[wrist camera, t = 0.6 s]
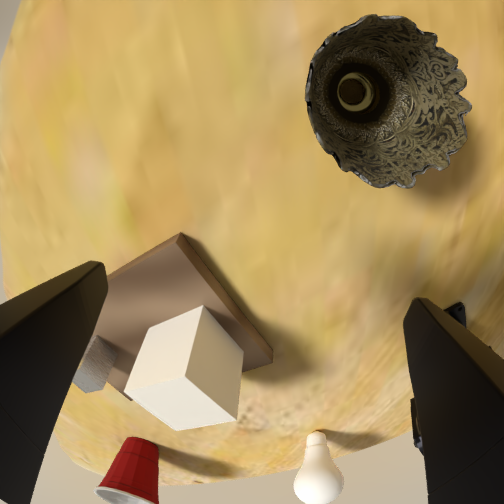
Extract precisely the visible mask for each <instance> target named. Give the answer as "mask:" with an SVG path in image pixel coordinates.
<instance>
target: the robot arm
mask: <svg viewBox="0 0 504 504" xmlns="http://www.w3.org/2000/svg"><path fill="white" fill-rule="evenodd" d="M107 294H108V281H107V276H106V270H105V266H104V264H103V263H102V262H98V261H88V262H86V263H84V264H82V265H80V266H78V267H75V268H73V269H71V270H69V271H67V272H65V273H63V274H61V275H59V276H57V277H54V278H52V279H50V280H48V281H46V282H44V283H42V284H40V285H38V286H36V287H34V288H32V289H30V290H28V291H26V292H24V293H22V294H20V295H18V296H16V297H14V298H12V299H10V300H8V301H7V302H5V303H3V304H1V305H0V499H1V500H3V501H4V502H6V503H8V504H30V502H31V498H32V495H33V491H34V488H35V484H36V481H37V478H38V474H39V471H40V468H41V465H42V461H43V458H44V454H45V452H46V449H47V446H48V443H49V440H50V437H51V434H52V432H53V429H54V426H55V423H56V421H57V418H58V415H59V413H60V410H61V408H62V405H63V403H64V400H65V398H66V395H67V393H68V390H69V388H70V385H71V383H72V380H73V378H74V376H75V373H76V371H77V369H78V366H79V364H80V362H81V360H82V357H83V355H84V353H85V351H86V349H87V346H88V344H89V342H90V340H91V337H92V335H93V333H94V330H95V327H96V324H97V321H98V318H99V316H100V313H101V310H102V307H103V305H104V302H105V299H106V296H107ZM403 329H404V336H405V343H406V351H407V360H408V367H409V373H410V378H411V383H412V388H413V393H414V398H412V399H410V401H411V417H412V428H413V439H414V445H415V447H417V448H419V450H420V452H421V453H422V455H423V456H424V461H425V470H426V480H427V490H428V494H429V495H428V504H504V359H502V358H501V357H500V356H499V355H498V354H496V353H495V352H494V351H493V350H492V348H491V347H490V346H489V347H488V346H487V345H486V344H484V343H483V342H482V341H481V340H480V339H478V338H477V337H476V336H475V335H473V334H472V333H471V332H470V331H468V330H467V327H466V316H465V307H464V305H463V303H461V302H460V303H457V304H455V305H453V306H451V307H449V308H448V309H446V310H444V311H443V310H442V309H441V308H439V307H438V306H437V305H435V304H434V303H433V302H431V301H430V300H429V299H427V298H419V297H416V298H414V299H413V300H412V302H411V305H410V307H409V309H408V311H407V313H406V316H405V318H404V321H403Z"/></svg>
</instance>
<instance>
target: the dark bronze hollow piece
mask: <svg viewBox="0 0 504 504" xmlns="http://www.w3.org/2000/svg"><path fill="white" fill-rule="evenodd" d="M437 38H438V37H437V35H436V34H434V33H431V32H423V31H421V30H419V29H418V28H417V27H416V24H415V23H414V22H412V21H411V20H409V19H408V18H406V17H403V16H377V15H376V14H371V15H366V16H364V17H361V18H360V19H359V20H358V21H357V22H355V23H353V24H351V25H348V26H344V27H343V28H341V29H340V30H339V31H337V32H336V33H331V34H330V35H329V36H328V37H327V38H326V39H325V41H324V42H323V44H322V45H321V47H320V48H319V49H318V50H317V51H316V53H315V54H314V56H313V58H312V60H311V63H310V68H309V73H308V78H307V83H306V89H305V101H306V102H307V111H308V115H309V119H310V122H311V125H312V128H313V130H314V133H315V134H316V138H317V140H318V142H319V143H320V145H321V147H322V148H323V149H324V151H325V152H326V153H328V154H330V155H332V156H333V157H334V159H335V160H336V162H337V164H338V166H339V167H340V168H341V169H342V170H343V171H344V172H348V171H352V172H353V173H354V174H356V175H357V176H358V177H359V178H360V179H362V180H363V181H365V182H366V183H368V184H369V185H371V186H373V187H376V188H385V187H388V186H391V185H394V184H396V185H397V186H399V187H401V188H412V187H413V186H414V185H415V182H416V181H415V180H416V178H415V175H417V174H424V173H425V171H426V170H427V169H429V168H431V167H432V168H436V169H438V170H439V171H441V170H443V169H445V168H447V167H448V166H449V164H450V160H449V155H451V154H453V153H456V152H457V151H458V150H459V149H460V148H461V147H462V146H463V145H464V143H465V142H466V141H467V131H466V126H465V124H464V121H463V116H462V114H467V113H468V112H470V110H471V109H472V105H471V103H470V102H469V101H467V100H466V99H465V98H463V97H462V96H461V95H459V92H460V91H462V90H463V89H464V88H465V87H466V85H467V79H466V76H465V75H464V74H463V72H462V71H461V70H460V69H457V67H458V65H457V64H458V59H457V58H456V57H454V56H453V55H451V54H450V53H448V52H446V51H445V50H444V49H443V48H441V47H436V43H437V42H438V41H437ZM349 79H353V80H357V81H359V82H360V83H361V84H362V85H363V87H364V90H365V95H364V98H363V100H362V101H361V102H359V103H357V104H349V103H347V102H345V101H344V100H343V99H342V98H341V96H340V86H341V85H342V83H343V82H344V81H346V80H349ZM465 116H466V115H465ZM412 177H413V178H412Z"/></svg>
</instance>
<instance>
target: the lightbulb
mask: <svg viewBox="0 0 504 504" xmlns="http://www.w3.org/2000/svg"><path fill="white" fill-rule="evenodd" d="M343 484H344V479H343V475H342V473H341V471H340V470H339V469H338V467H337V466H336V465H335V464H334V462H333V460H332V458H331V455H330V451H329V447H328V446H327V441H326V435H325V434H324V433H321V432H319V431H314V432H312V433H311V434H309V435H308V436H307V448H306V450H305V458H304V462H303V464H302V467H301V468H300V470H299V472H298V473H297V475H296V477H295V480H294V491H295V493H296V495H297V497H298V498H299V499H300V500H301V501H302V502H304V503H306V504H328V503H330V502H332V501H333V500H334V499H336V498H337V497H338V495H339V494H340V493H341V491H342V489H343Z"/></svg>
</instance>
